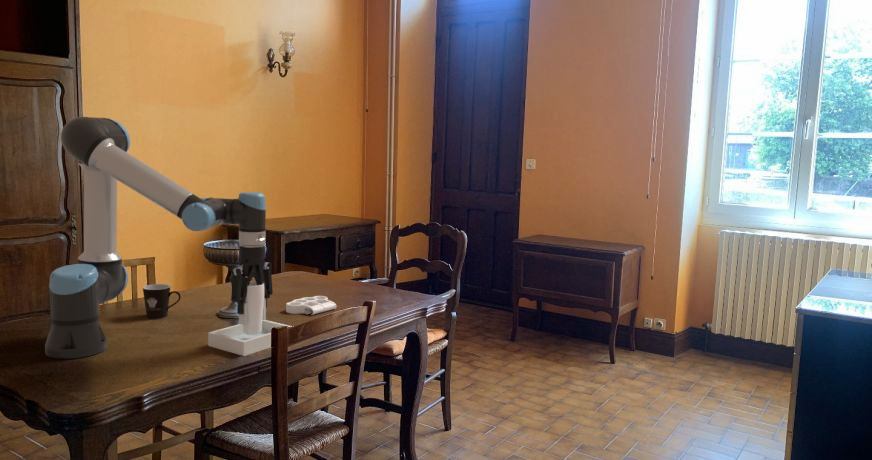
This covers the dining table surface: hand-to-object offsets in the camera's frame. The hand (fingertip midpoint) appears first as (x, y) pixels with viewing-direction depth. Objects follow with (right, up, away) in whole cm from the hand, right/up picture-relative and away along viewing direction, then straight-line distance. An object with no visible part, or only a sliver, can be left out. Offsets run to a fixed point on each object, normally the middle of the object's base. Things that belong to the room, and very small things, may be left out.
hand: (252, 321), depth 199 cm
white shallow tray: (0, -6, +1) cm, 6 cm away
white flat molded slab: (+9, -2, +42) cm, 43 cm away
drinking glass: (0, -4, 0) cm, 4 cm away
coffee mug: (-38, -2, +25) cm, 45 cm away
